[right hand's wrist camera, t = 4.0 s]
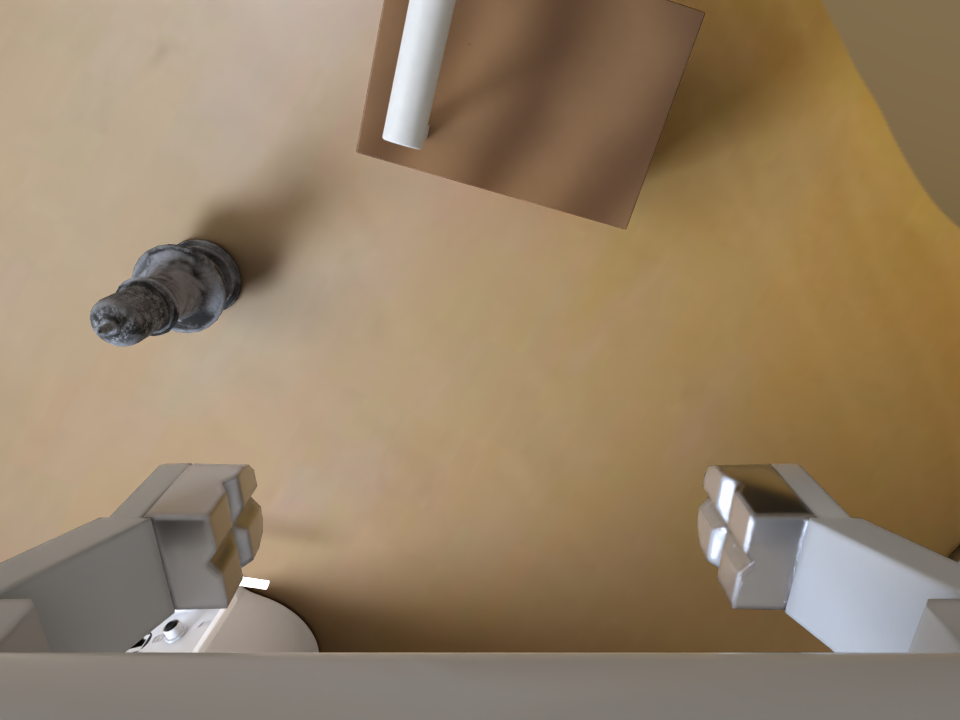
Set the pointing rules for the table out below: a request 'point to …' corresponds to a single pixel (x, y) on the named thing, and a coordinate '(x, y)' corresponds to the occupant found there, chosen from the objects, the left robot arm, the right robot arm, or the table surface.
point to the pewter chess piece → (169, 293)
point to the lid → (529, 95)
